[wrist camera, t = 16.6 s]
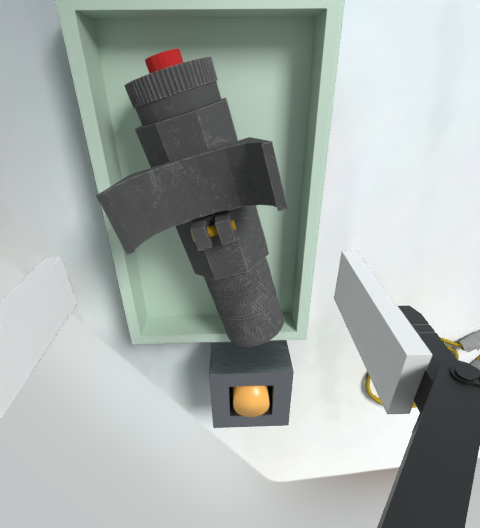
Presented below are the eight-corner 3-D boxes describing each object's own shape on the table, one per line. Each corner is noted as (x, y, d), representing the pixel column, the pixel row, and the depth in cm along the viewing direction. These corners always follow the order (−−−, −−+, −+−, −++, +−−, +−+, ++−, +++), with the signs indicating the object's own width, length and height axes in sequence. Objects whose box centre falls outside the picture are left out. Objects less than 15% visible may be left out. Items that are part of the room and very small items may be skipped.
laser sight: (207, 316, 34) (200, 396, 26) (106, 80, 24) (35, 78, 15) (299, 293, 33) (324, 368, 24) (236, 34, 23) (240, 4, 14)
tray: (79, 2, 22) (52, -12, 19) (328, 0, 23) (346, -14, 19) (141, 319, 35) (132, 344, 32) (298, 315, 36) (306, 339, 32)
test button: (232, 355, 36) (233, 393, 32) (265, 355, 36) (270, 392, 32) (233, 379, 38) (233, 417, 34) (264, 378, 38) (268, 416, 34)
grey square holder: (212, 332, 36) (209, 374, 31) (284, 330, 36) (293, 371, 31) (215, 382, 40) (213, 427, 35) (280, 380, 40) (288, 425, 35)
